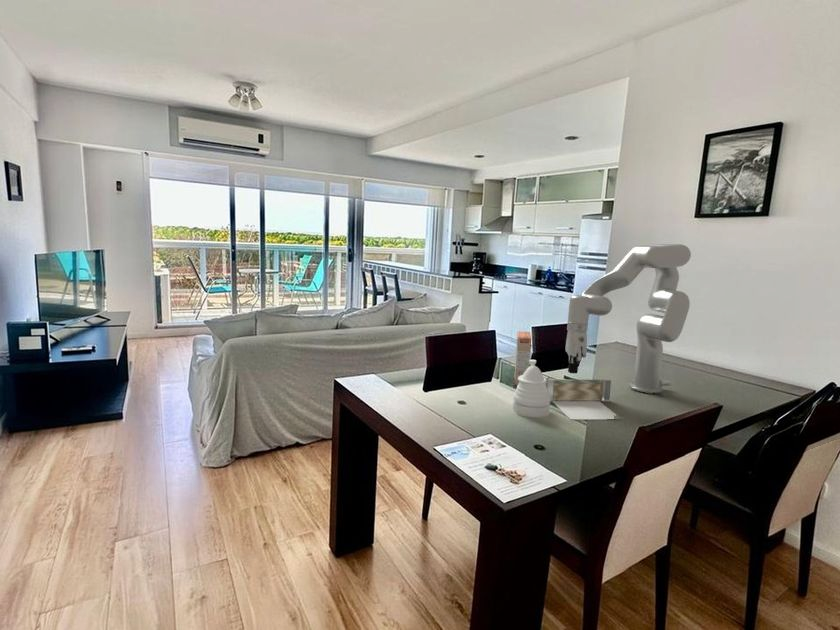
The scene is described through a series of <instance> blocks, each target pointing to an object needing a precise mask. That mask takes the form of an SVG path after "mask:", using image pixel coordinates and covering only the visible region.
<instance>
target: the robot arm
mask: <svg viewBox="0 0 840 630" xmlns="http://www.w3.org/2000/svg"><path fill="white" fill-rule="evenodd" d="M691 257H692V252H691V250H690V248H689V247H688V246H686V245H684V244H681V243H680V244H678V243H677V244H676V243H659V244H654V245H636V246H633V247H632V248H631V249H630V250H629V251H628V252H627V253H626V254H625V255H624V257H623V258H622V259H621V260H620V261H619V262H618V263H617V265H616V266H615V267H614V268H613V269H612V270H611V271H610V272H608V273H606V274H605V275H602V276H601V277H600V278H598V279H596V280H595V281H594V282H592V283H591V284H590V285H589V286H587V288H586V289H585V290H584V291H583V292H582V294H574V295H571V296H570V298H569V304H568V305H569V306H568V313H567V315H568V316H567V324H566V325H567V326H566V330H567V334H566V339H565V352H566V353H567V355H568V368H567V372H568V373H569V374H578V371H579V364H580V362H582V358H584V359H585V358H586V357H587V347H588V335H587V332H588V329H589V319H590V318H589V317H590V315H593V316H606V315H608V314H609V313H611V311H612V309H613V303H612V301H611V300H610V299H609V298H608V297H606V296H605V295H606V294H609V293H610V292H613V291H617V290H619V289H623V288H626V287H628V286H630V285H631V284H632V283H633V281H635V279H636V278H637V277H638V276H639V275H640V274H641V272H642V271H643V270H645V269H646V268H647V269H654V271H655V278H654V280H653V281H654V282H653V283H652V284H653V285H652V287H651V291H650V294H649V297H648V301H647V305H648V307H649V309H651V310H652V311H654V312H658V313H664V315H659V314H654V313H645V314H643V315H641V316H640V317H639V318H637V319H638V320H637V322H636V335H637V345H636V353H635V365H634V374H633V375H634V376H633V381H632V382H630V383H629V385H628V387H629V386H630V387H631V388H632V389H631V388H630V387H629V388H630V389H631V390H633V389H635V390H637V391H636V392H639V391H641V392H640V393H643V392H645V394H653V393H655V394H660V393H662V392H663V390H664V389H663V387H664V386H665V387H667V386H668V387H670V386H671V385H672V384H671V381H670V380H664V379H661V377H660V376H661V368H662V359H663V349H664V346H663V342H665V343H672V342H674V341H676V340H678V338H680V336H681V334H682V331H683V329H684V325H685V322H686V320H687V317H688V313H689V311H690V308H691V307H690V306H691V305H690V304H691V303H690V297H689V296H688V295H687V294H686V293H685V292H683V291H681V290H677V289H678V284H679V279H680V274H679V270H678V268H679V267H683V266H686V264H688V263H689V261H690V259H691ZM635 390H634V391H635Z"/></svg>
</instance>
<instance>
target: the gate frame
mask: <svg viewBox="0 0 840 630" xmlns="http://www.w3.org/2000/svg"><path fill="white" fill-rule="evenodd" d="M546 380H547V382H546V387H547V388H548V393H549V396H550V403H553V402H601V403H611V402H612V400H611V399H610V398H611V387H612V386H611V385H612V380H611V379H610V378H603V380H604V386H603V397H602V399H553V385H554V380H553V378H552V377H551V378H546Z"/></svg>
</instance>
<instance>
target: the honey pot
mask: <svg viewBox="0 0 840 630" xmlns="http://www.w3.org/2000/svg"><path fill="white" fill-rule="evenodd" d="M529 363H530V365H529V368H528V369H527V370H526V371H525V372H524V374H523V375H521V376H519V377H518V380H519V381H520V382H519V384H518V385H516V388H515V392H514V393H513V398H512V399H513V400H512V401H513V402H512V411H513V412H514V413H516V414H518V415H520V416H523V417H529V418H543V417H547V416H549V415H550V408H551V402H550V396H549V393H548V388H547V387H546V385H547V378H545V376H544V375H543V373H542V371H541V369H540V368H539V367H538V366H536V364H537V360H536V359H530V360H529Z"/></svg>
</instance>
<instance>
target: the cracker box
mask: <svg viewBox="0 0 840 630" xmlns="http://www.w3.org/2000/svg"><path fill="white" fill-rule="evenodd" d="M515 346H516V348H515V361H514V362H515V363H514V386H518V384H519V382H520V381H519V380H518V377H519V376H521V375H523V374H524V372H525V371H526V370H527V369H528V368H529V367H530V366H531V365H530V363H529V360H531V352H532V351H531V348H532V335H531V331H530V332H529V331H517V333H516V345H515Z"/></svg>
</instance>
